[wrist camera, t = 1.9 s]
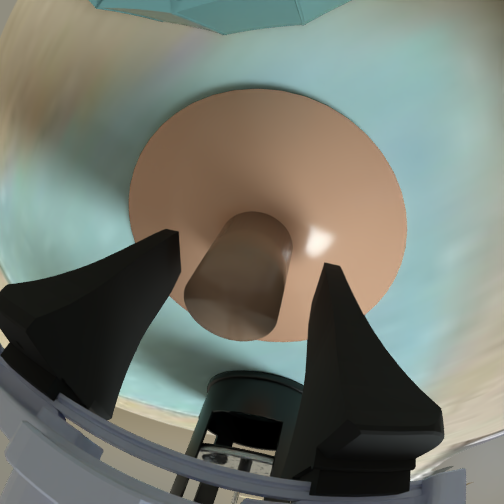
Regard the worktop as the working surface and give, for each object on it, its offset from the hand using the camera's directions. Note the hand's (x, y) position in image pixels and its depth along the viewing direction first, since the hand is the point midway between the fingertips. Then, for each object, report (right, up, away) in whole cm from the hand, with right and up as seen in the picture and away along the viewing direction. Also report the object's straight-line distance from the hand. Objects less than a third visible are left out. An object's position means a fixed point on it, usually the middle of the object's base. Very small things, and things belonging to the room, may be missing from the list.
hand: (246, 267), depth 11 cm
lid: (+1, +1, +2) cm, 2 cm away
